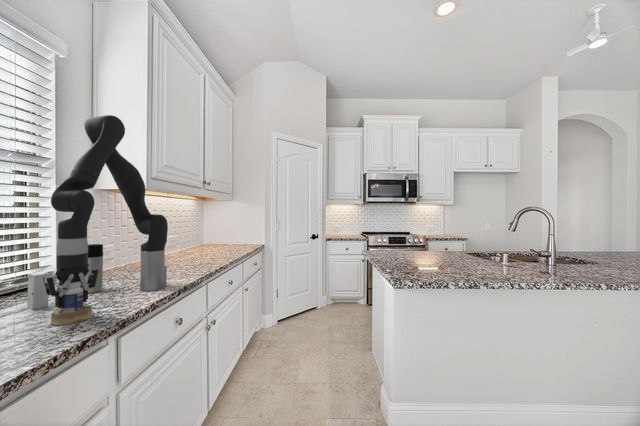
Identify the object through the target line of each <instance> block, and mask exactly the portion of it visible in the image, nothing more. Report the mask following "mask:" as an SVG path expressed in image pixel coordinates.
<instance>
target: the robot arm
mask: <svg viewBox="0 0 640 426" xmlns="http://www.w3.org/2000/svg"><path fill="white" fill-rule="evenodd" d="M83 126H84V130H85V133H86V136H87V137H88V139H89V140H90V142H91V143H92V146H91V147H90V148H88V150H86V151H85V152H84V153H83V154H82V155H81V156H80V157H79V158H78V159H77V161H76V163H75V164H74V167H73V169H72V170H71V172H70V174H69V176H68V177H67V178H66V179H64V181H63V182H62V183H60V185H59V186H58V187H57V188H56V189H55V190H54V191H53V193H52V194H51V196H50V197H51V198H50V205H51V207H52V208H53V209H54V210H55V211H57V212H61V213H63V212H64V213H73V214H72V216H71V217H70V218H68V219H63V220H60V221H59V222H58V224H57V242H56V263H55V265H56V271H55V274H53V275H50V276H49V277H44V278H43V281H44V285H45V289H46V293H47V295H49V296H51V297H54V298H55V299H54V300H55V301H54V306H55V307H57V309H60V308H64V296H63V295H64V292H65V290H66V289H67V288H68V286H69V284H70V283H75V282H80V281H81V286H80V287H81V288H83V303H86V302H87V301H88V299H89V294H88V290H89V289H90V288H92V287H95V284H96V279H97V275H98V270H97V269H88V268H87V265H88V245H89V242H88V224H89V221H90V219H91V216H92V213H93V210H94V207H95V198H94V196H93V194H92V193H90V192H89V191H87V190H90V189H91V190H92V189H93V188H95V186H96V184H97V182H98V180H99V178H100V176H101V173H102V170H103V168H104V167H105V166H106V167H107V169H108V170H109V172H110V174H111V176H112V178H113V181H114V182H115V184H116V186H117V188H118V190H119V192H120V193H121V195H122V197H123V199H124V201H125V203H126V205H127V207H128V209H129V211H130V214H131V217H132V220H133V222H134V225H135V226H136V229H137V231H138V232H139V233H140V234H142V235H147V236H148V239H147V240H146V242H143V243H141V245H140V269H139V270H140V271H139V272H140V280H139V281H140V282H139V283H140V284H139V285H140V286H139V289H140V291H142V292H155V291H159V290H162V289H164V288H165V287H167V267H168V266H166V265H165V264H166V263H165V261H166V260H165V259H166V258H165V257H166V256H165V254H166V253H165V251H166V250H165V249H166V248H165V247H166V244H167V241H168V230H169V228H168V227H169V226H168V220H167V218H166V217H165V216H164V215H163V214H153V213H151V212H150V211H149V209H148V207H147V205H146V202H145V201H146V200H145V196H146V184H145V182H144V180H143V178H142V175H141V173H140V171H139V170H138V168H137V167H135V165H134V164H132V162H129V161H128V160H127V159H126V158H125V157H124V156H122V154H120V152H118V150H117V146H118V145H119V144H120V142H122V140H123V139H124V137H125V134H126V127H125V125H124V123H123V121H122V120H121V119H120V118H119V117H117V116H115V115H110V114H109V115H107V114H106V115H100V116H92V117H88V118H86V119H85V121H84V125H83ZM87 273H88V275H89V277H88V281H86V279H85V276H86V275H87ZM56 279H57V280H58V283H57V285H56V286H55V282H56Z"/></svg>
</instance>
